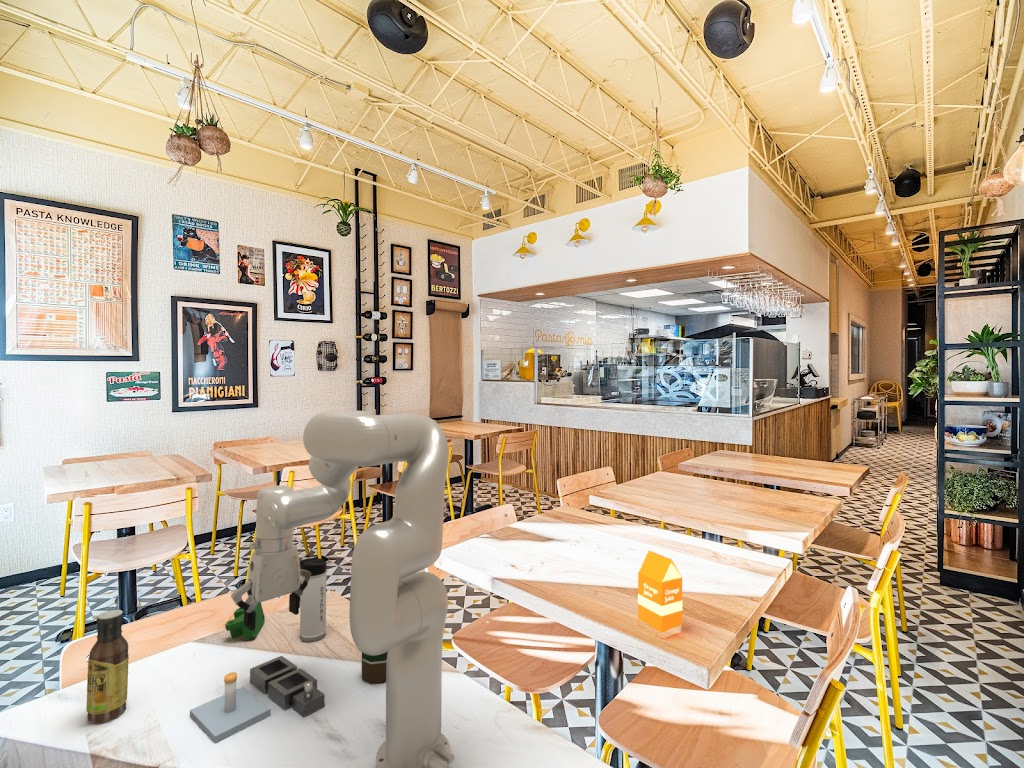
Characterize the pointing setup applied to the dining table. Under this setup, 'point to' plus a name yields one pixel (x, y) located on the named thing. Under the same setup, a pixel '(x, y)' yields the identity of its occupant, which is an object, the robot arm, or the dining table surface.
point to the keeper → (229, 711)
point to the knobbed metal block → (308, 700)
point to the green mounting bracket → (238, 626)
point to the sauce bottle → (107, 670)
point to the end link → (270, 672)
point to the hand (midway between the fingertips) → (272, 620)
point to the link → (288, 687)
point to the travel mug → (313, 601)
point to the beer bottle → (374, 668)
